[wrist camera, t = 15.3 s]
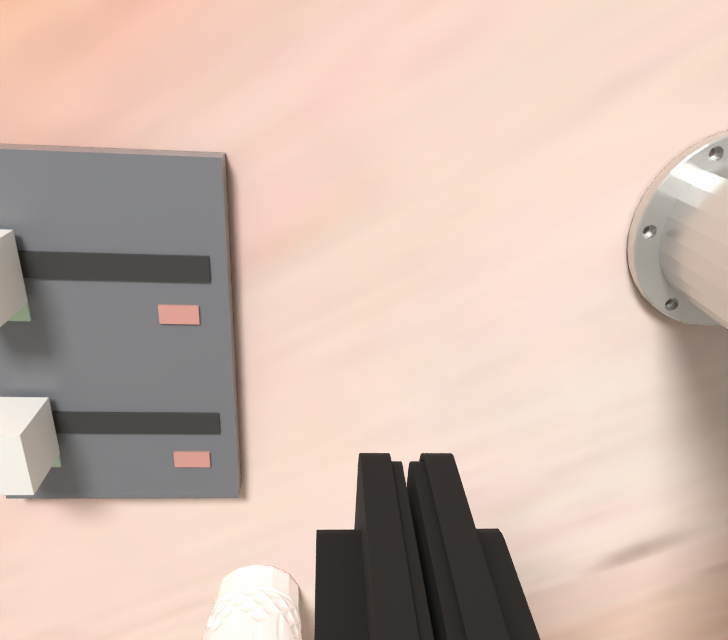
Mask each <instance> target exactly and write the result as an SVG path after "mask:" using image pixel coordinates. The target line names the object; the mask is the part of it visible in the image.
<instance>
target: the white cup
mask: <svg viewBox="0 0 728 640" xmlns="http://www.w3.org/2000/svg"><path fill="white" fill-rule="evenodd" d="M203 640H302V635H301V619H300V614H299V590H298V585H297V584H296V582H295V581H294V580H293V579H292V577H291V576H290V575H289V574H288V573H286V572H284V571H282V570H280V569H278V568H276V567H273V566H265V565H250V566H246V567H242V568H237V569H236V570H234V571H233V572H231V573H230V574H228V575H227V576H225V577H224V578H223V579H222V581H221V583H220V585H219V587H218V589H217V592H216V596H215V600H214V604H213V608H212V612H211V614H210V616H209V620H208V623H207V627H206V631H205V634H204V638H203Z"/></svg>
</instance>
